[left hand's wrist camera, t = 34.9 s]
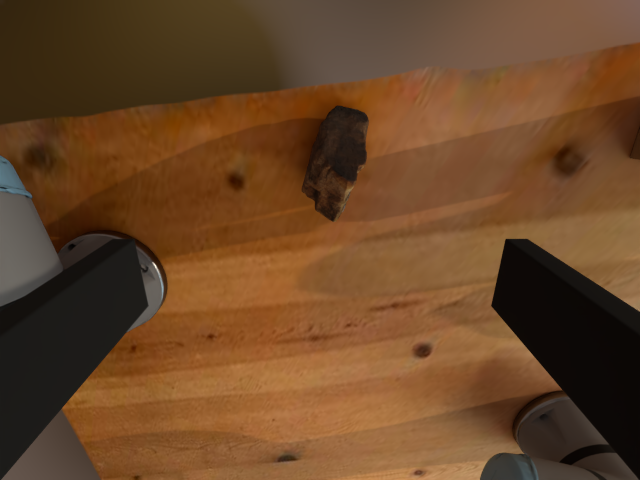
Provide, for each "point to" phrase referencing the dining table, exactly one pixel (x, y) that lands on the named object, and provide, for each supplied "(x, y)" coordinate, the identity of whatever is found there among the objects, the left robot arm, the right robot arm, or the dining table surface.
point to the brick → (636, 147)
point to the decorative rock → (336, 160)
